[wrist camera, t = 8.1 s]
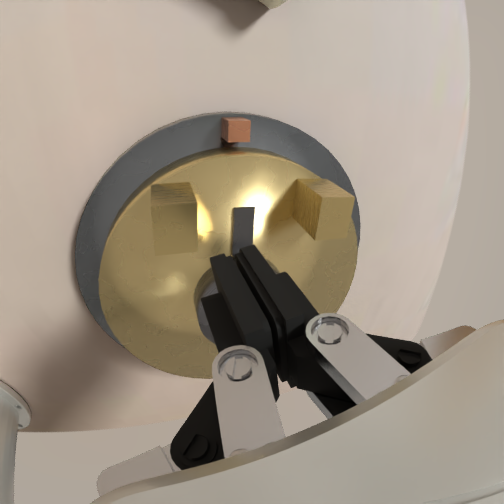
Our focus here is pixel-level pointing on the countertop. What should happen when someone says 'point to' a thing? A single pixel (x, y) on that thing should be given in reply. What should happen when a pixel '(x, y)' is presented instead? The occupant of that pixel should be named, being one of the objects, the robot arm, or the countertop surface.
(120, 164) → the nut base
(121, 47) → the countertop surface
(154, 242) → the lugged brass disc
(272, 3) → the pipe fitting
